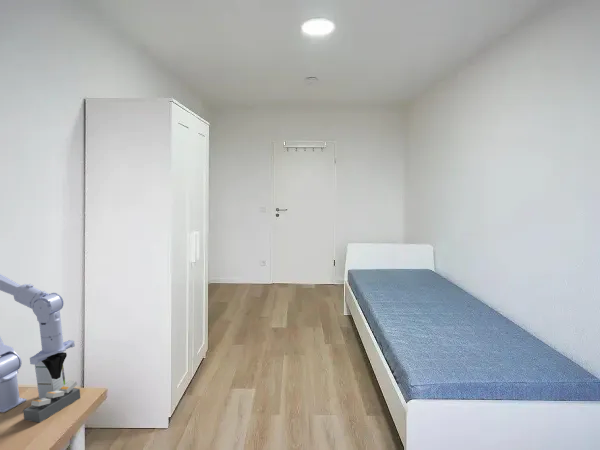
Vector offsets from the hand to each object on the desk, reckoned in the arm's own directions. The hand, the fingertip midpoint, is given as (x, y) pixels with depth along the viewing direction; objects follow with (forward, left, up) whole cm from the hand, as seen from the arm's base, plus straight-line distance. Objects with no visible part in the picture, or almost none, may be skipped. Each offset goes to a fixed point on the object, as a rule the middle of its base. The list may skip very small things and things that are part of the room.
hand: (56, 378), depth 137 cm
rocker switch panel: (-1, -1, -9) cm, 10 cm away
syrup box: (-9, +6, -10) cm, 15 cm away
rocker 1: (0, -6, -5) cm, 8 cm away
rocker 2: (0, -1, -5) cm, 5 cm away
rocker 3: (0, +4, -5) cm, 6 cm away
